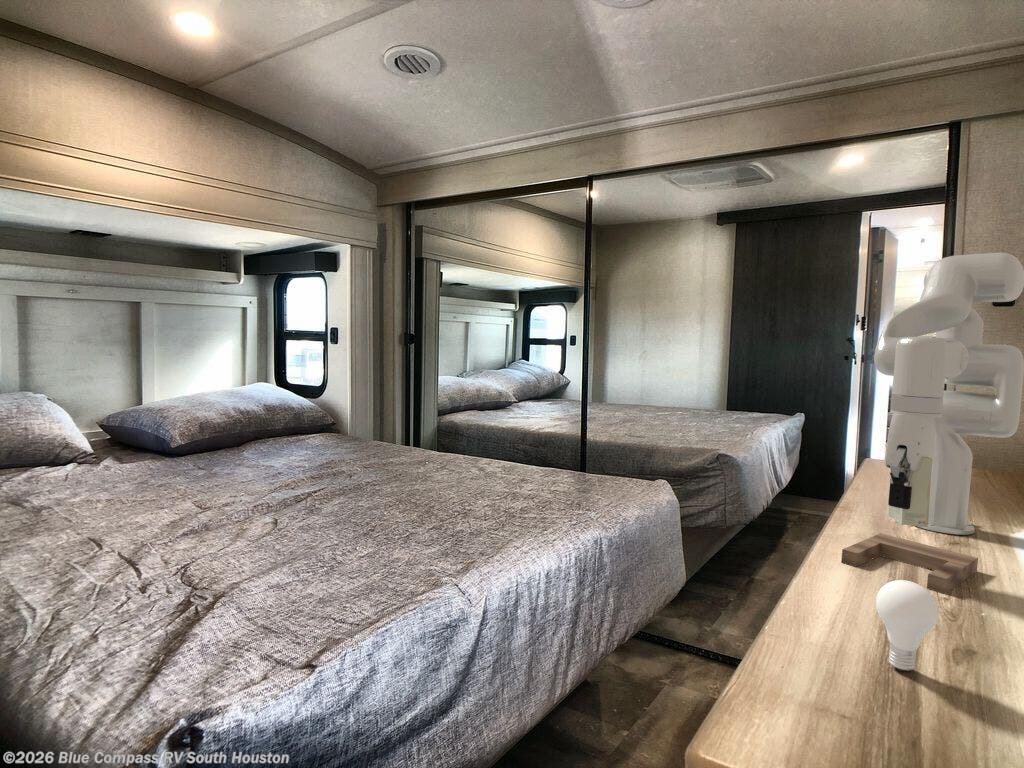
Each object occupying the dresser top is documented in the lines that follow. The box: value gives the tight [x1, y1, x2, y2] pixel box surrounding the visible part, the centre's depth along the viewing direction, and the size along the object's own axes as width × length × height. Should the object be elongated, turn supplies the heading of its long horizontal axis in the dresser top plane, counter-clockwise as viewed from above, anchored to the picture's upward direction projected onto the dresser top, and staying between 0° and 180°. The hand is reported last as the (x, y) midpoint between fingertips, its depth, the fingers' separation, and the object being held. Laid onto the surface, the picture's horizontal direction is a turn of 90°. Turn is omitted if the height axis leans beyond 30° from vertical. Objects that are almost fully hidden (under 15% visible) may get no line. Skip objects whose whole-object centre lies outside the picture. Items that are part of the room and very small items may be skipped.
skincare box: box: [886, 457, 932, 527], centre depth 103 cm, size 6×4×12 cm
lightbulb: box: [875, 579, 940, 672], centre depth 70 cm, size 6×6×11 cm
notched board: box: [840, 532, 979, 594], centre depth 106 cm, size 18×16×2 cm
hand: (907, 503), depth 103 cm, fingers closed on skincare box, 7 cm apart
